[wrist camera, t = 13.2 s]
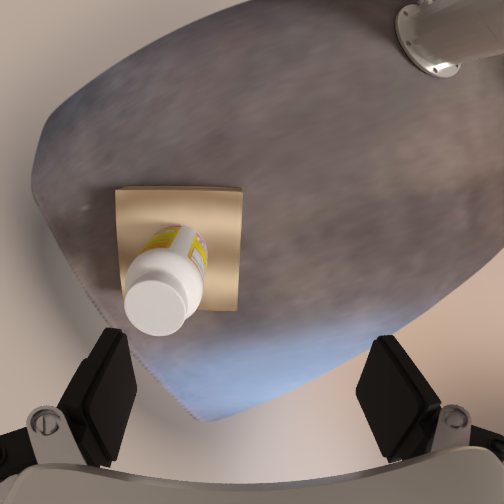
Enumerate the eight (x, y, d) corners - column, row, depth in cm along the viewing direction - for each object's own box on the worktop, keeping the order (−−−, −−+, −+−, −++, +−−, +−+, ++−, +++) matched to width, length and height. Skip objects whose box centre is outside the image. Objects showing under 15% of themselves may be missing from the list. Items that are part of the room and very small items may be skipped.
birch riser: (126, 186, 33) (115, 190, 29) (241, 187, 35) (242, 191, 31) (132, 291, 38) (123, 305, 34) (235, 295, 39) (236, 310, 35)
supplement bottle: (140, 262, 32) (99, 320, 20) (166, 211, 31) (129, 248, 19) (191, 289, 34) (176, 359, 22) (219, 241, 32) (216, 295, 20)
